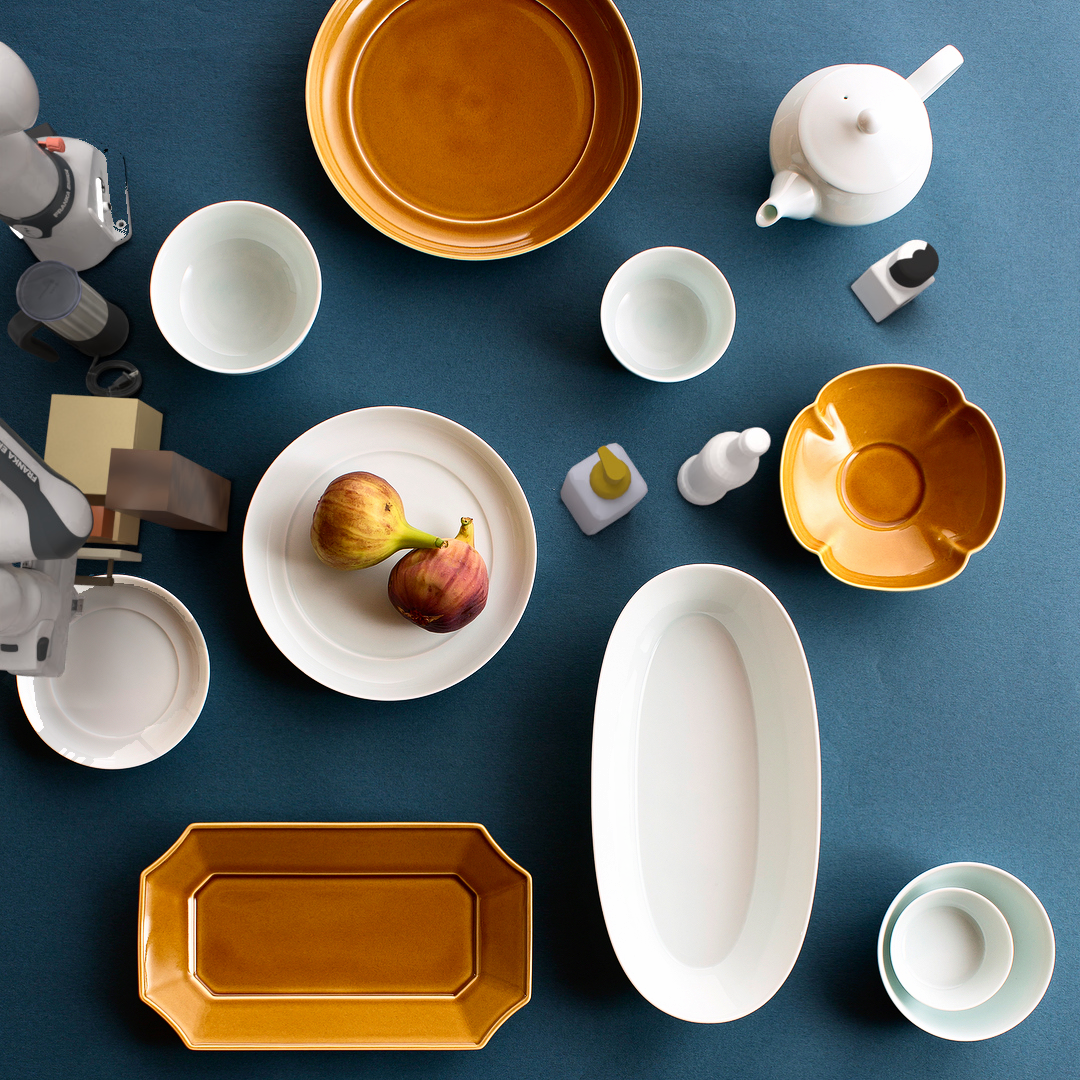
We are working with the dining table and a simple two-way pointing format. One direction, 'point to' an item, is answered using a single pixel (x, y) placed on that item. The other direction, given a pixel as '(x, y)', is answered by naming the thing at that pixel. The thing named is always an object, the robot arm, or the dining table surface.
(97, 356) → the milk frother
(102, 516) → the block
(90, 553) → the drawer
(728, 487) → the bottle
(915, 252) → the container
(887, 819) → the dining table surface
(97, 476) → the cabinet
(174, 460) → the stand
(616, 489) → the soap bottle
